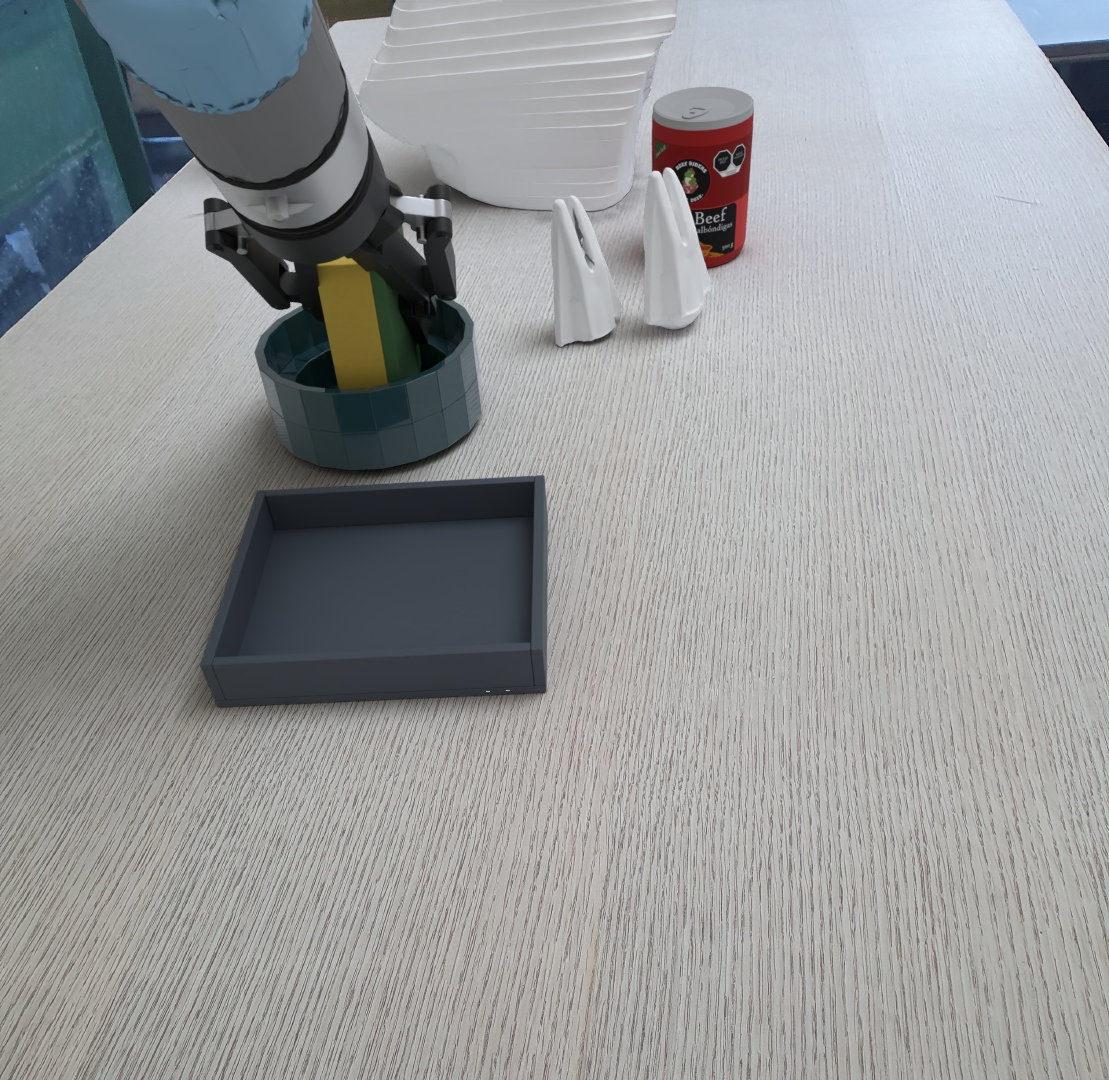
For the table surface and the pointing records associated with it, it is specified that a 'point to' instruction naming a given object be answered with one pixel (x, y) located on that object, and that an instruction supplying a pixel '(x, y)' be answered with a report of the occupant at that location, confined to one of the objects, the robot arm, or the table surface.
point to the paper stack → (520, 93)
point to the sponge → (365, 326)
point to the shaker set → (669, 266)
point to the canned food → (708, 161)
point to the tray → (385, 594)
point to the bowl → (370, 395)
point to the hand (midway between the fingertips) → (386, 325)
